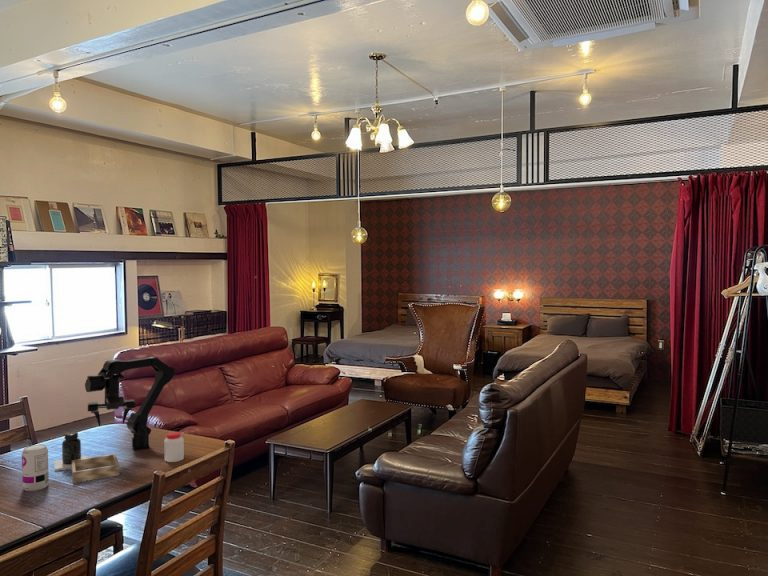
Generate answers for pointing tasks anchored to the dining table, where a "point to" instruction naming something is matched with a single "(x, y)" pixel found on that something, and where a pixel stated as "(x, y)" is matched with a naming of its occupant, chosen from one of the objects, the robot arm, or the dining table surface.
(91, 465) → the crate
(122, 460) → the dining table surface
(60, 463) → the mat
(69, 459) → the supplement bottle
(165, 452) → the pill bottle
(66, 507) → the dining table surface
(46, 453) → the supplement can
